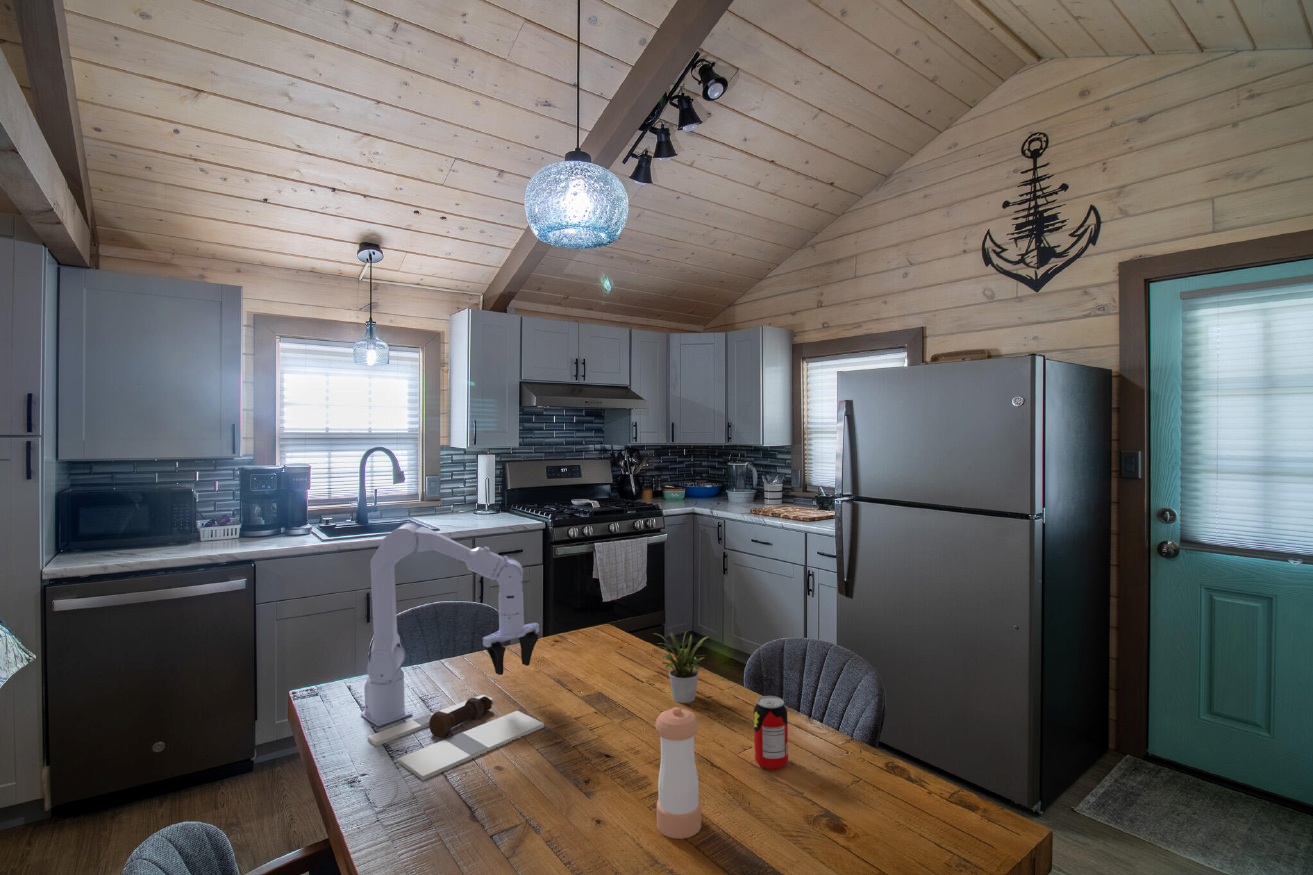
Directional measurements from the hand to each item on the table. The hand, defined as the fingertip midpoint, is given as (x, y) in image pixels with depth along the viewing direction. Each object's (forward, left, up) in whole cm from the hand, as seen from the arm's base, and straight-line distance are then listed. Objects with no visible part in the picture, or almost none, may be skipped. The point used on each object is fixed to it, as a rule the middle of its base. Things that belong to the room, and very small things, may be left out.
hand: (512, 669), depth 152 cm
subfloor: (+3, -17, -8) cm, 19 cm away
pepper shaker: (+60, -10, -9) cm, 61 cm away
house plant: (+28, +27, -9) cm, 40 cm away
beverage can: (+61, +16, -9) cm, 64 cm away
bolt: (0, -13, -9) cm, 16 cm away
